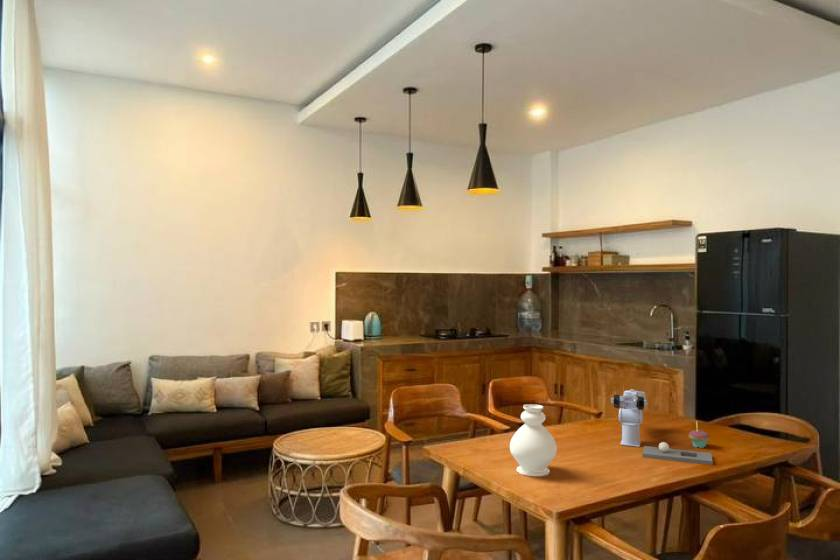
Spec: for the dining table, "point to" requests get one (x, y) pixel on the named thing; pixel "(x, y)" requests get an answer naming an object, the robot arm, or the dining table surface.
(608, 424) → the dining table surface
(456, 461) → the dining table surface
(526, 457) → the decorative vase
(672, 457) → the board
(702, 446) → the cupcake
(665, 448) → the ball
